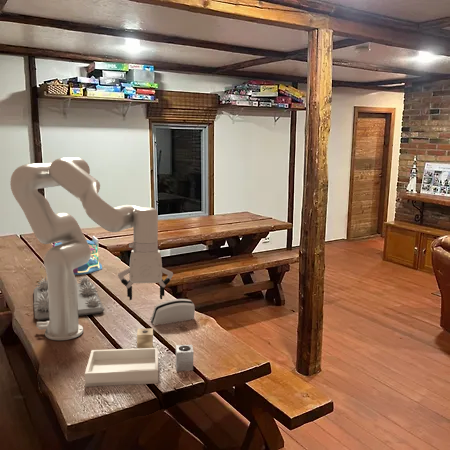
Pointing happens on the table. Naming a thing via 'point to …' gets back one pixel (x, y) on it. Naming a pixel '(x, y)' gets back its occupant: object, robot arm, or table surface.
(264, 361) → the table surface
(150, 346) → the maple block
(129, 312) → the table surface
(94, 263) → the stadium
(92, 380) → the sorting tray
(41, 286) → the decorative tray
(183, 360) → the grey block
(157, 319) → the grey rounded slab
